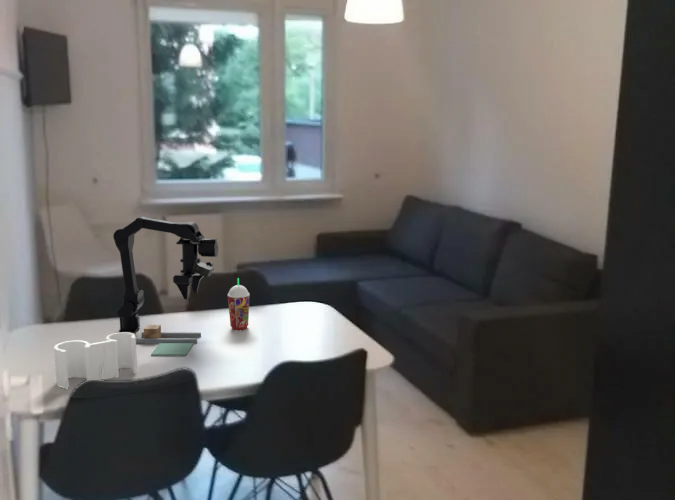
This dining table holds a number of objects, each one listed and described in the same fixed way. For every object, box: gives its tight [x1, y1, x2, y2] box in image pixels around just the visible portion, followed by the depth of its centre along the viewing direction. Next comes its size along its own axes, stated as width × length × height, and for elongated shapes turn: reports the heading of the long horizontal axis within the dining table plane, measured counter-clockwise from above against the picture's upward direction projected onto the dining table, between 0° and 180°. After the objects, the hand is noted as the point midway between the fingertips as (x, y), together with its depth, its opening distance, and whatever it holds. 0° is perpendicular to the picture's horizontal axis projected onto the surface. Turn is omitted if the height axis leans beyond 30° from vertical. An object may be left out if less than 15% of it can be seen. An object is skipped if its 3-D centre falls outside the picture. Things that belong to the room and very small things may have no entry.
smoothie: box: [227, 277, 250, 332], centre depth 285 cm, size 8×8×20 cm
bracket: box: [53, 331, 138, 389], centre depth 236 cm, size 25×10×12 cm, turn 126°
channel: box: [136, 331, 202, 344], centre depth 274 cm, size 22×8×2 cm, turn 89°
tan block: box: [143, 324, 162, 338], centre depth 273 cm, size 5×5×5 cm
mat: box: [150, 343, 194, 357], centre depth 262 cm, size 12×12×1 cm
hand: (190, 296), depth 281 cm, fingers open, 9 cm apart
